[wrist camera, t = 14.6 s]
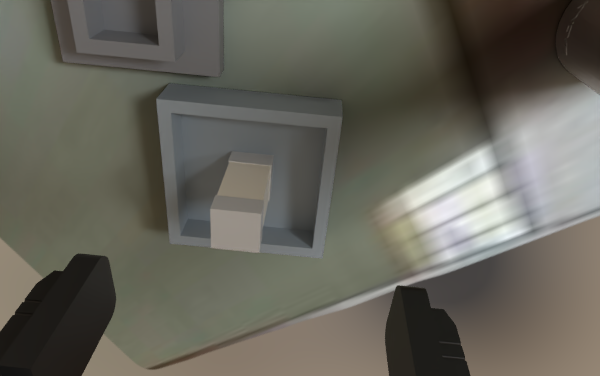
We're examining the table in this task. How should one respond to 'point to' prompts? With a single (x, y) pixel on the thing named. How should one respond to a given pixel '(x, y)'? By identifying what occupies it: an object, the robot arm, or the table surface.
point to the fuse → (242, 202)
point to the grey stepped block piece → (143, 34)
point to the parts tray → (251, 139)
